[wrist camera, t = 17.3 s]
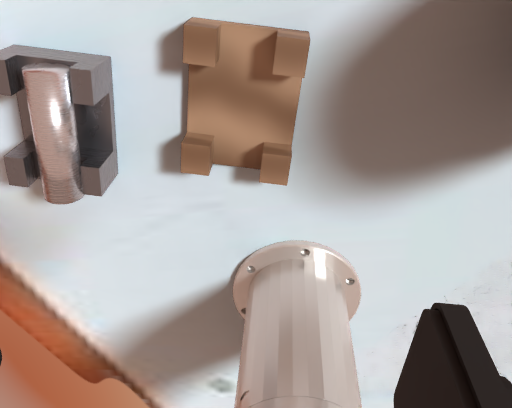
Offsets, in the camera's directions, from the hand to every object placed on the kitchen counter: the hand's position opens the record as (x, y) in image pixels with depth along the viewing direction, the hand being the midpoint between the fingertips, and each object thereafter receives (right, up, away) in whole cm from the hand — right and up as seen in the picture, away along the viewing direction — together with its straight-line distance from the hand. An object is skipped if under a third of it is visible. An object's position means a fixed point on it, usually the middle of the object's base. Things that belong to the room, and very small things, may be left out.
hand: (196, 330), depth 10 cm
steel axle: (-14, +8, +24) cm, 28 cm away
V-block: (-14, +10, +27) cm, 32 cm away
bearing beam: (0, +11, +26) cm, 28 cm away
